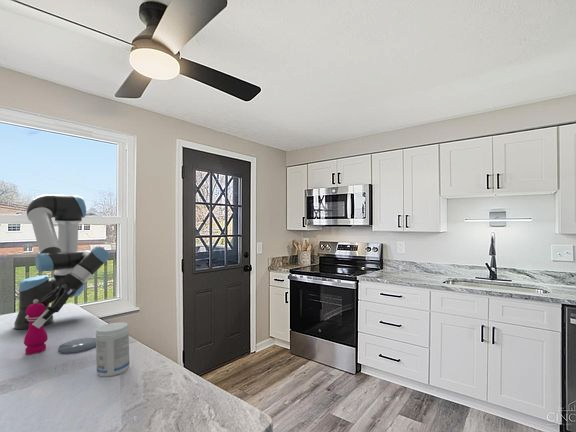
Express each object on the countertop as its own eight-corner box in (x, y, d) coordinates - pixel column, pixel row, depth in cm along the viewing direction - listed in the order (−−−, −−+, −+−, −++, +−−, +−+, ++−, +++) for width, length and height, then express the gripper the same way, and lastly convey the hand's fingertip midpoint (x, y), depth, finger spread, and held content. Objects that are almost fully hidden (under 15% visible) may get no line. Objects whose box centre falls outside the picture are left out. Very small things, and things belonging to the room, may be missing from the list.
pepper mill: (52, 347, 127) (52, 297, 127) (36, 355, 119) (36, 301, 120) (35, 347, 127) (35, 297, 128) (18, 354, 120) (18, 301, 120)
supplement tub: (129, 362, 111) (129, 320, 112) (129, 373, 103) (128, 328, 103) (97, 368, 107) (97, 324, 108) (94, 380, 99) (94, 333, 99)
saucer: (49, 350, 123) (49, 348, 123) (84, 338, 136) (84, 335, 136) (74, 355, 118) (74, 352, 118) (107, 342, 131) (107, 339, 131)
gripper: (93, 286, 128) (48, 334, 116) (75, 280, 144) (33, 321, 132) (78, 275, 124) (29, 324, 112) (60, 270, 140) (16, 312, 129)
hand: (31, 323), depth 122 cm, fingers open, 13 cm apart
